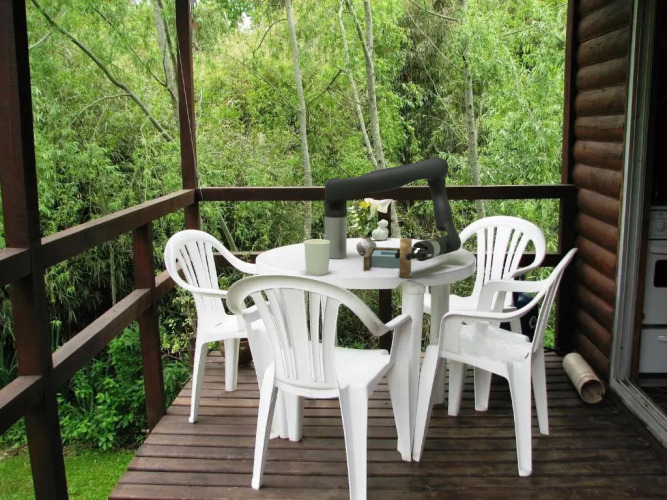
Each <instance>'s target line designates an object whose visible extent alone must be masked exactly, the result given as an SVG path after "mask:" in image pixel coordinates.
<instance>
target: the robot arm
mask: <svg viewBox="0 0 667 500" xmlns="http://www.w3.org/2000/svg"><path fill="white" fill-rule="evenodd" d="M448 172H449V163H448V162H447V160H446V159H445V158H442V157H431V158H428V159H424V160H422V161H417V162H413V163H410V164H402V165H397V166H391V167H387V168H385V167H384V168H380V169H377V170H376V169H375V170H373V171H370V172H367V173H364V174H361V175H359V176H355V177H346V178H344V177H343V178H340V177H334V176H333V177H331V178H330V179H328V180H327V181H326V182H325V183H324V234H323V240H329V241H330V254H329V259H335V260H336V259H337V260H338V259H344V258H347V246H348V245H347V244H348V243H347V235H348V234H347V233H348V232H347V231H348V230H347V229H348V227H347V226H348V224H347V222H348V219H347V217H348V215H347V213H348V210H347V206H348V205H347V204H348V203H347V202H348V200H347V199H348V198H351V197H355V196H359V195H365V194H376V193H382V192H389V191H393V190H394V191H395V190H397V189H399V188H402V187H404V186H406V185H408V184H410V183H413V182H415V181H420V180H426V182H427V185H428V188H429V191H430V195H431V199H432V205H433V206H432V208H433V215H434V221H435V228H436V230H437V231H439V232H446V233H447V235H444V236H440V237H435V238H431V239H424V240H420V241H416V242H415V243H414V244H413V245H412V252H411V253H409V254H407V255H406V260H411V261H412V260H414V261H415V260H416V261H418V262H426V261H427V260H432V259H434V258H437V257H439V256H444V255H446V254H450V253H453V252H456V251H459V250H461V249H460V248H461V245H462V240H461V239H462V238H461V237H460V235H459V233H458V230H457V229H456V226H455V224H454V220H453V212H452V207H451V205H450V201H449V199H448V195H447V188H446V184H447V183H446V177H447V176H448ZM398 248H399V249H397V252H396V253H395V258H396V259H398V258H400V247H398Z"/></svg>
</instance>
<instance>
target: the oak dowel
mask: <svg viewBox="0 0 667 500" xmlns="http://www.w3.org/2000/svg"><path fill="white" fill-rule="evenodd" d="M412 241H413V239H412V238H406V237H404V238H400V239H399V248H400V269H399V271H398V273H399V278H401V279H410V278H411V277H412V260H406V255H407V254H409V253H411V252H412V247H413V245H412Z"/></svg>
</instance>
